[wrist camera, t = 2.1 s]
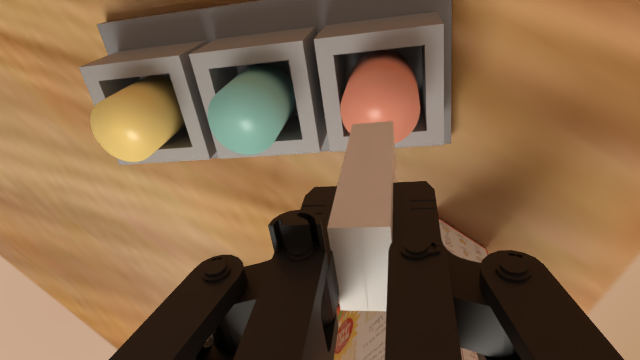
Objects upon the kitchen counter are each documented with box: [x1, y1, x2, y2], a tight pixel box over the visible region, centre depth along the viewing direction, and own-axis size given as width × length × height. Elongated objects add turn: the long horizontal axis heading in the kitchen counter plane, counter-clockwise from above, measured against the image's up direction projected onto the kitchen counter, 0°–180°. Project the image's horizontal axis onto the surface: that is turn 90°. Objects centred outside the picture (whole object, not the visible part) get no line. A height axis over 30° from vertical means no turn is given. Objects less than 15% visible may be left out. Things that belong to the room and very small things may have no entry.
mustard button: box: [90, 75, 185, 162], centre depth 25 cm, size 4×4×4 cm
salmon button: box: [340, 50, 420, 144], centre depth 22 cm, size 4×4×4 cm
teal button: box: [207, 63, 296, 155], centre depth 23 cm, size 4×4×4 cm
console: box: [79, 0, 452, 165], centre depth 26 cm, size 22×10×5 cm, turn 99°
